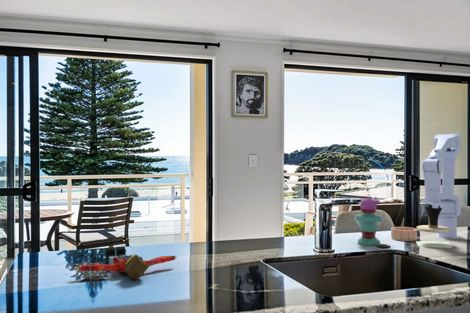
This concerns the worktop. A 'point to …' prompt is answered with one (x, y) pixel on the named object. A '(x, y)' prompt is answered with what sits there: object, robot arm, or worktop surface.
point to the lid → (433, 228)
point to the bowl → (404, 233)
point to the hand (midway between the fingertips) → (433, 224)
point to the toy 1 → (125, 263)
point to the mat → (433, 244)
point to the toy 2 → (368, 222)
